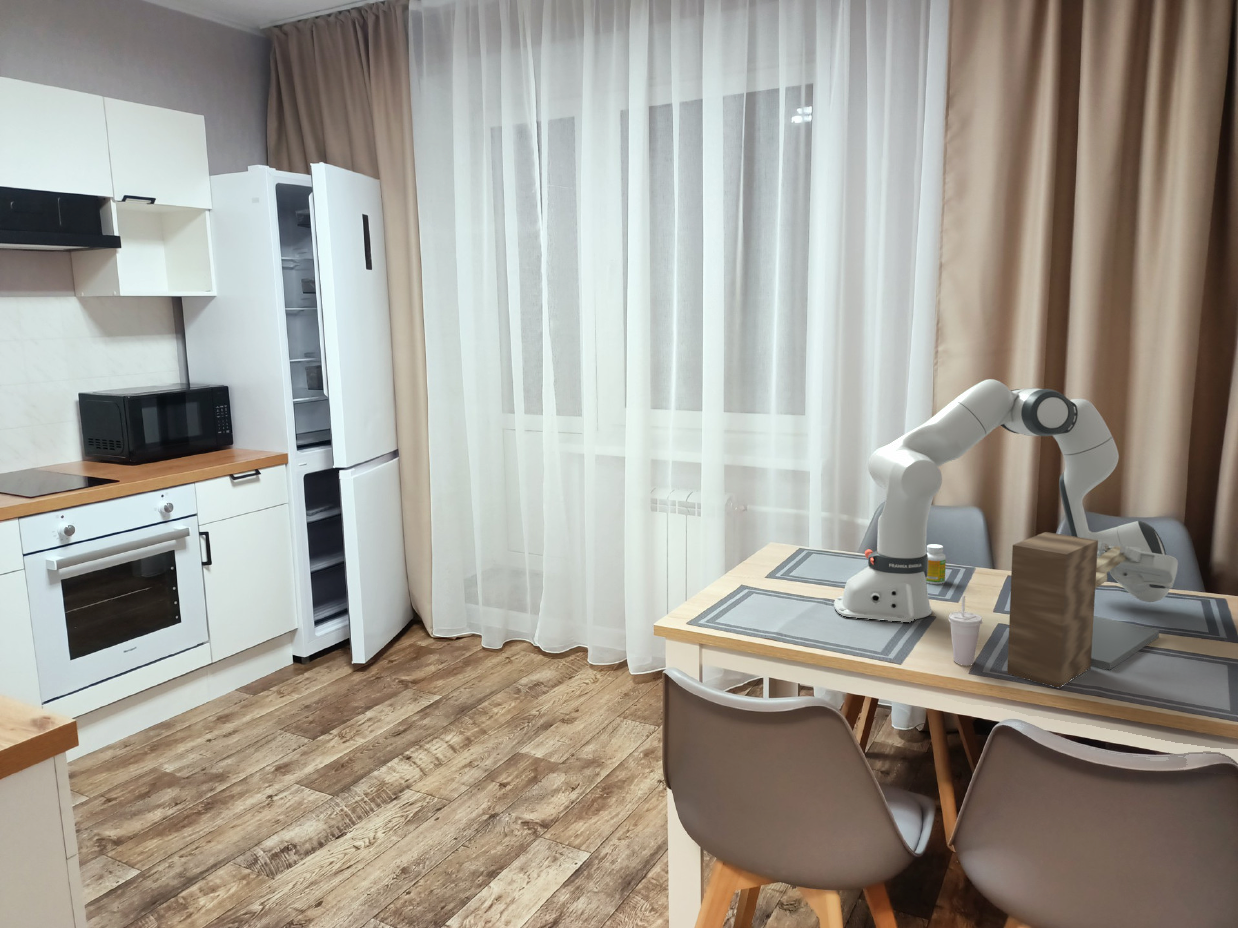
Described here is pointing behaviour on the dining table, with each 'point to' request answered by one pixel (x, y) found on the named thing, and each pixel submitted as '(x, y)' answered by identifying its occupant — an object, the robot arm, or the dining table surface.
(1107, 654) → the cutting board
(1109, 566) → the stepped light wood bar
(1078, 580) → the walnut stand
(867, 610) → the robot arm
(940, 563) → the supplement bottle
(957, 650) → the smoothie
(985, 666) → the dining table surface
